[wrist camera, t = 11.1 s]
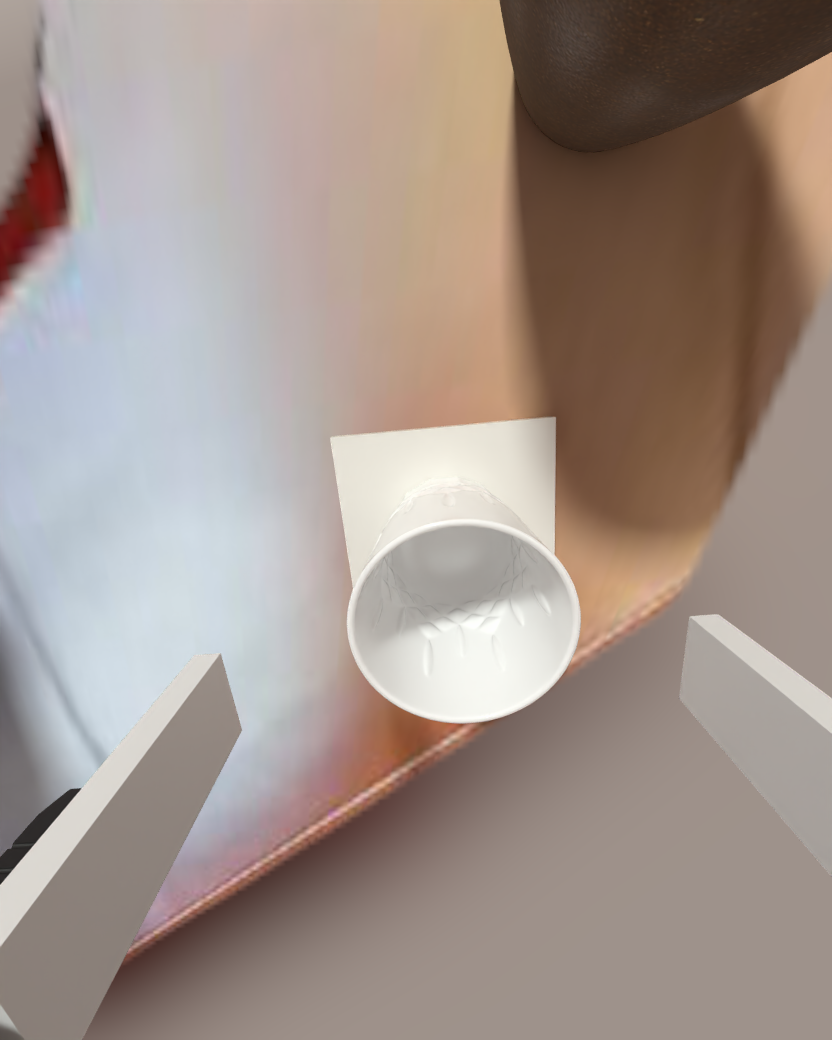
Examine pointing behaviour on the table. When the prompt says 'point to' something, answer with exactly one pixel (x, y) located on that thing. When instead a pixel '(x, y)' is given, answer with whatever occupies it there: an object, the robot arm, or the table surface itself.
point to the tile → (445, 473)
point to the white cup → (461, 607)
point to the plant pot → (652, 60)
